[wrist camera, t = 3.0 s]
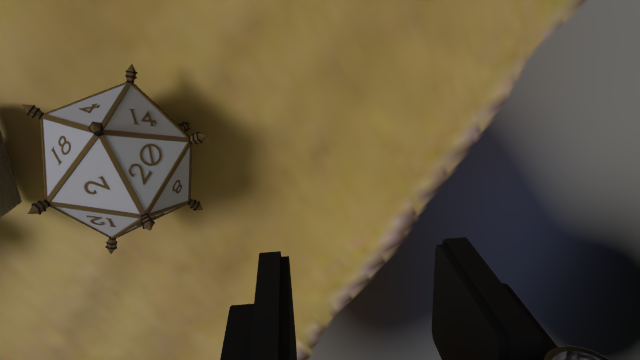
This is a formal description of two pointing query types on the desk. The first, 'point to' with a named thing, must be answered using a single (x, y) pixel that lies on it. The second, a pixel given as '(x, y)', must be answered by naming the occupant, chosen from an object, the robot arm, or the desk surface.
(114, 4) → the desk surface
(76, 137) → the game die
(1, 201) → the grey channel block
